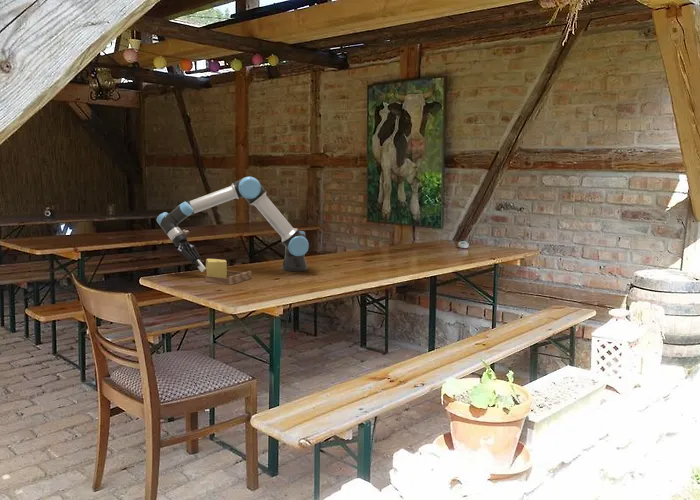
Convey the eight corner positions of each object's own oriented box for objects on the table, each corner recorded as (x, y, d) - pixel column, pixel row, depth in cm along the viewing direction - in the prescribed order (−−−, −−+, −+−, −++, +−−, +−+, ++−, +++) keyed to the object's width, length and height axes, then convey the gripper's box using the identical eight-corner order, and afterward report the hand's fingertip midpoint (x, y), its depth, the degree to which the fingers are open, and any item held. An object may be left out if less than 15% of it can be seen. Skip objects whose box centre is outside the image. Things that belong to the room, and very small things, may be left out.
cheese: (225, 276, 334) (225, 258, 333) (227, 280, 324) (227, 261, 323) (205, 276, 331) (205, 258, 330) (207, 280, 321) (207, 261, 319)
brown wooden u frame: (226, 275, 336) (226, 268, 336) (251, 278, 331) (251, 271, 330) (205, 281, 317) (205, 274, 317) (231, 284, 312) (231, 277, 311)
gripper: (181, 240, 339) (206, 272, 335) (166, 242, 327) (192, 276, 323) (189, 231, 336) (214, 264, 333) (174, 233, 324) (200, 267, 321)
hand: (203, 270), depth 328 cm, fingers closed
